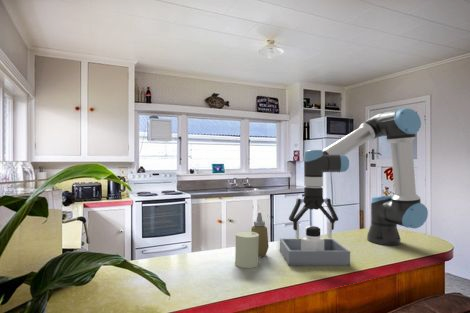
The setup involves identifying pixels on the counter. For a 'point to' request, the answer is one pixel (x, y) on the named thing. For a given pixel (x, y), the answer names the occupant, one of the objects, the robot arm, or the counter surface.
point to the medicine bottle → (312, 240)
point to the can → (246, 249)
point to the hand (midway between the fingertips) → (313, 237)
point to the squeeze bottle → (261, 235)
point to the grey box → (314, 254)
